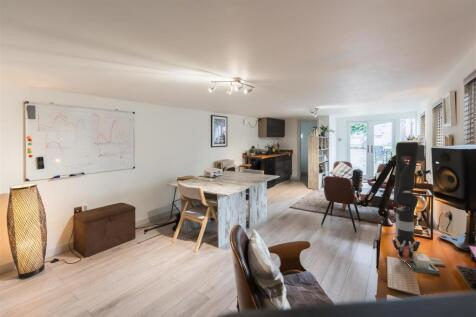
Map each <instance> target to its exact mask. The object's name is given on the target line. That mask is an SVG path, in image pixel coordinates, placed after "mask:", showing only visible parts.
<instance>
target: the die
mask: <svg viewBox="0 0 476 317" xmlns="http://www.w3.org/2000/svg"><path fill="white" fill-rule="evenodd" d="M413 256H414V262H415V264H416V266H417V268H426V269H429V264H430V260H429V259H428V257H429V256H427V255H426V254H424V253H416V252H414V255H413Z"/></svg>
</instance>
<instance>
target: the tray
mask: <svg viewBox="0 0 476 317" xmlns="http://www.w3.org/2000/svg"><path fill="white" fill-rule="evenodd" d="M406 262H407V263H408V264H409V265H410V266H411V268H412V269H413V270H412V269H411V268H410V269H411V270H412V271H413V272H414V273H421V274H422V273H424V274H434V275H440V270H439V269H438V268H437V267H436V265H432V264H431V263H430V264H429V269H426V268H417V266H416V264H415V262H414V261H413V260H406ZM407 263H406V264H407ZM408 264H407V265H408ZM409 265H408V266H409ZM410 266H409V267H410Z"/></svg>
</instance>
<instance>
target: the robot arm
mask: <svg viewBox="0 0 476 317" xmlns="http://www.w3.org/2000/svg"><path fill="white" fill-rule="evenodd" d="M419 149H420V148H419V143H418V142H417V141H397V143H396V144H395V170H394V191H393V192H394V193H393V201H394V203H395V204H396V205H398V206H403V207H397V208H396V209H395V237H396V238H391V242H392V244H393V247H394V249H395V250H396V251H397V252H398V253H397V256H398V255H399V256H400V257H402V249H403V248H404V246H408V248H409V258H412V257H413V256H414V255H413V253H414V252H417V251H418V249H419V247H420V245H421V242H420V241H419V240H418V239H415V223H414V222H415V220H414V216H415V211H416V208H417V205H418V203H419V198H418V196H417V195H416V194H413V192H412V191H413V190H414V189H415V179H416V178H415V177H416V176H415V175H416V169H417V164H418V156H419ZM404 157H406V158H408V157H409V158H410V161H409V162H408V163H407V162H406V161H405V160H404ZM397 243H398V244H397Z"/></svg>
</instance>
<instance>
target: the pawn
mask: <svg viewBox="0 0 476 317" xmlns="http://www.w3.org/2000/svg"><path fill="white" fill-rule="evenodd" d="M401 258H403V259H406V260H409V259H410V258H409V248H408V246H404V248H403V249H402V257H401Z"/></svg>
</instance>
